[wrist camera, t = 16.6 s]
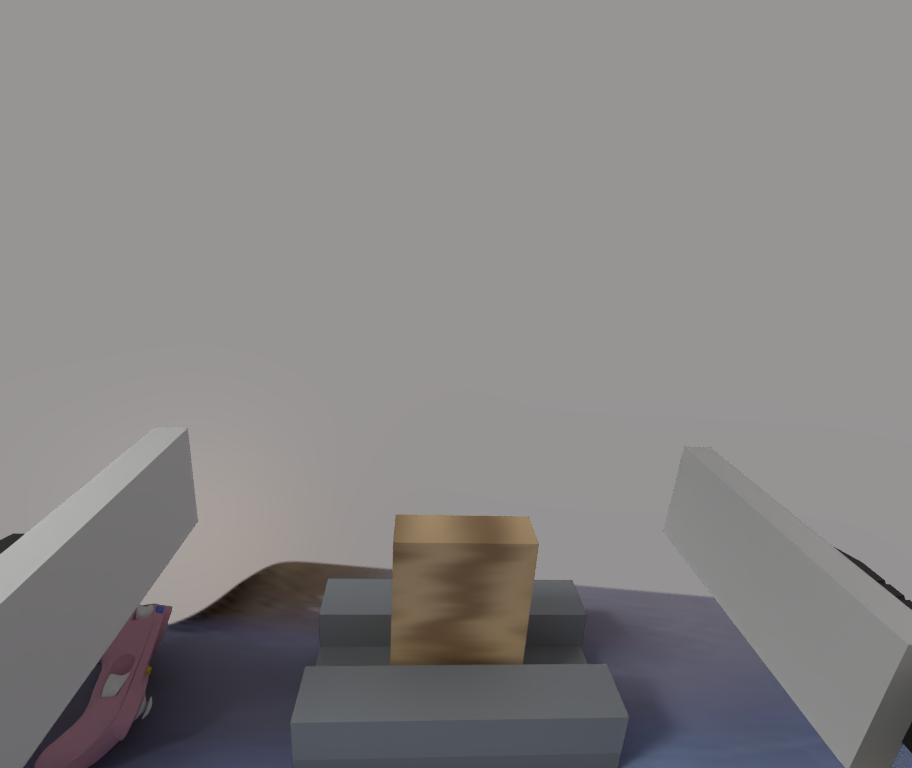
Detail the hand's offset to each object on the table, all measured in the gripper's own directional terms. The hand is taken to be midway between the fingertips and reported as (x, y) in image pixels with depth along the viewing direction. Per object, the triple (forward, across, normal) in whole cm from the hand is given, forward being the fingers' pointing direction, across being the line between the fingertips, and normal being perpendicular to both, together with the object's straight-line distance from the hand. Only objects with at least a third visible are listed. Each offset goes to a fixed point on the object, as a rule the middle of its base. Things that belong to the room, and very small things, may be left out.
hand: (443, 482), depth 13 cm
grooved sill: (+15, +3, -26) cm, 30 cm away
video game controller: (+14, -19, -26) cm, 36 cm away
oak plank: (+15, +3, -24) cm, 29 cm away
